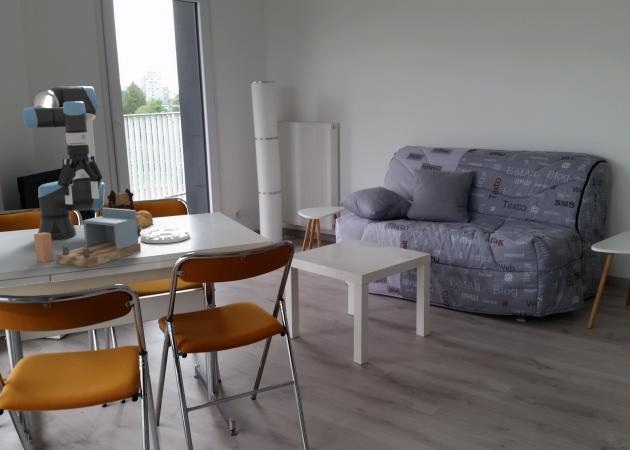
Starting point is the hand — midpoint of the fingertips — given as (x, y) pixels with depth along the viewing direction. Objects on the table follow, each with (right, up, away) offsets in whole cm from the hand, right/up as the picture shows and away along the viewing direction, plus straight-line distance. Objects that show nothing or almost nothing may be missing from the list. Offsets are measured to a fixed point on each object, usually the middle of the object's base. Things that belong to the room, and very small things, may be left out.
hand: (82, 201), depth 236 cm
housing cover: (+10, -16, +4) cm, 19 cm away
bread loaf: (+6, -9, +58) cm, 59 cm away
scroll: (+5, -14, +35) cm, 37 cm away
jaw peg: (-12, -22, -6) cm, 25 cm away
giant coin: (+25, -15, +27) cm, 40 cm away
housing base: (+7, -21, -1) cm, 22 cm away
